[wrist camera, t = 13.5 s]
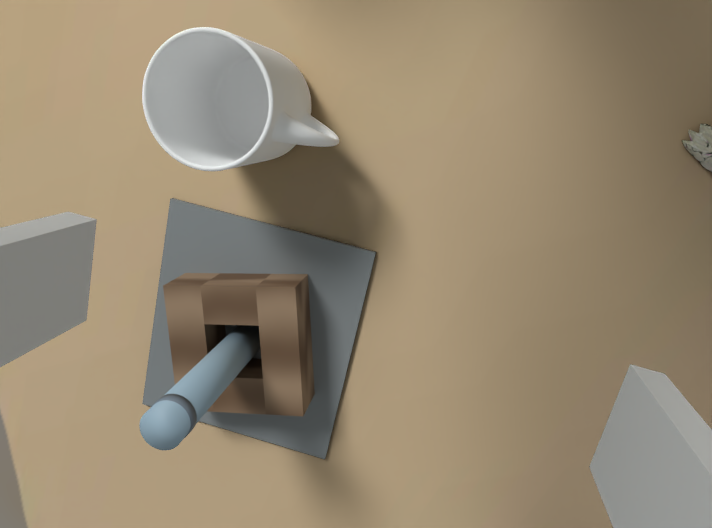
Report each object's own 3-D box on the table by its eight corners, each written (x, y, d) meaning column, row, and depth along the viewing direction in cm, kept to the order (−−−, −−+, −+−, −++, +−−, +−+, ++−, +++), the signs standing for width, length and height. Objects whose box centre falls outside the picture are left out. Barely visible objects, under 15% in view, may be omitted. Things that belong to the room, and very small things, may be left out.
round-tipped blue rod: (237, 316, 50) (142, 402, 34) (268, 324, 49) (186, 415, 34) (232, 345, 51) (136, 443, 35) (262, 354, 50) (179, 456, 35)
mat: (172, 198, 48) (170, 198, 48) (376, 251, 47) (375, 253, 46) (144, 401, 54) (142, 403, 54) (325, 456, 52) (324, 459, 52)
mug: (331, 192, 46) (296, 212, 36) (198, 136, 47) (126, 141, 37) (370, 88, 44) (344, 79, 33) (229, 31, 44) (161, 5, 34)
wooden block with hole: (185, 272, 50) (162, 285, 46) (307, 274, 48) (295, 287, 44) (198, 388, 52) (177, 409, 48) (314, 393, 50) (303, 416, 47)
